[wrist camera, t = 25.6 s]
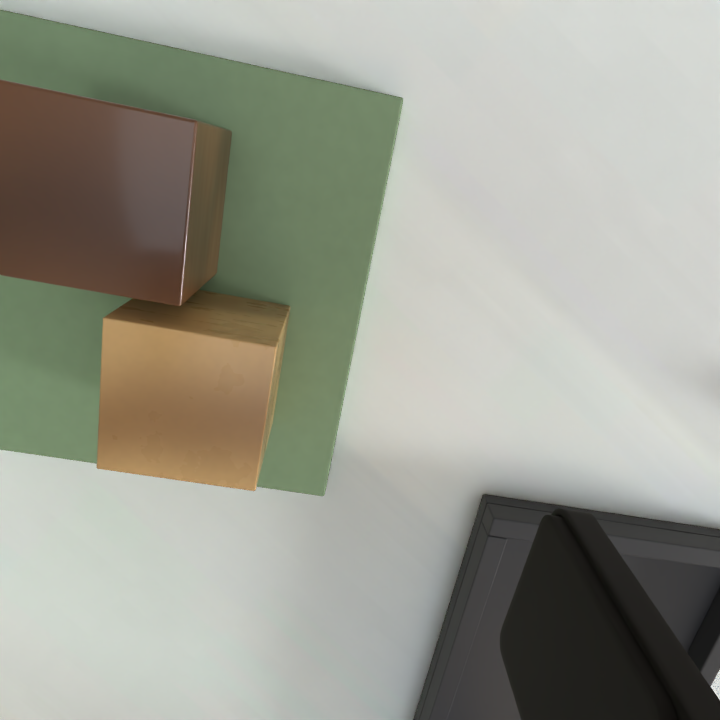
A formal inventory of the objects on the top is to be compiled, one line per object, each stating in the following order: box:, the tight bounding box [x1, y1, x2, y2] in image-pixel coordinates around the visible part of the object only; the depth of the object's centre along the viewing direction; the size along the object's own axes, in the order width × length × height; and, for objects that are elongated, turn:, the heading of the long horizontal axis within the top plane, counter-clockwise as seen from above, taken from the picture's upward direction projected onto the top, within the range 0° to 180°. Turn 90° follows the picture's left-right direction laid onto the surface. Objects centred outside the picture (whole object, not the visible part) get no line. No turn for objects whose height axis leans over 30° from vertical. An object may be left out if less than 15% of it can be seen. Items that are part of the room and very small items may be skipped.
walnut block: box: [0, 79, 232, 306], centre depth 15 cm, size 4×4×4 cm
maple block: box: [97, 290, 290, 491], centre depth 17 cm, size 4×4×4 cm
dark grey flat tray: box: [414, 495, 720, 720], centre depth 24 cm, size 16×12×2 cm
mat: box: [0, 10, 403, 496], centre depth 18 cm, size 14×12×1 cm
